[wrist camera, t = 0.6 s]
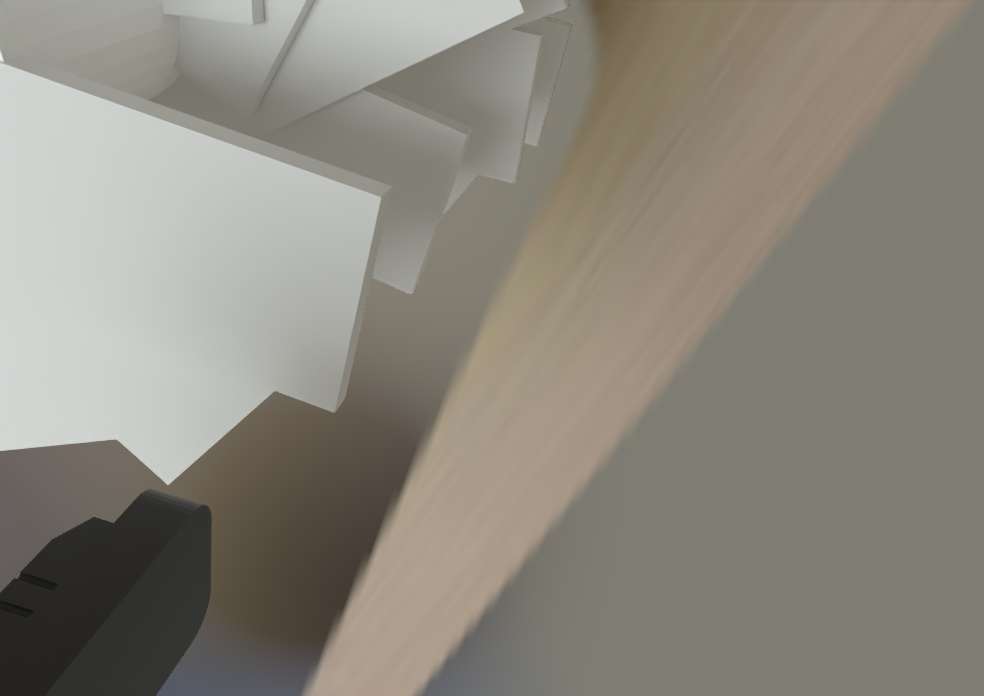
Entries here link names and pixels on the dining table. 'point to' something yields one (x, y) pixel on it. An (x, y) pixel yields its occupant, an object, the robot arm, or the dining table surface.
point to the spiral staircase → (233, 195)
